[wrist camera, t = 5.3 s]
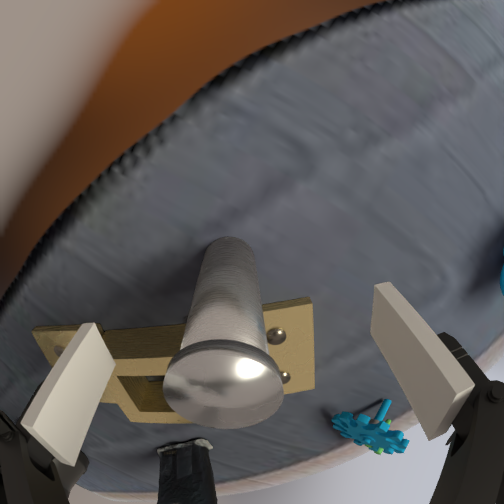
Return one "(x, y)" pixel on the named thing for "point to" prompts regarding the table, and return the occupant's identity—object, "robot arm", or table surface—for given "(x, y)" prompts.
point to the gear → (371, 431)
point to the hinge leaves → (169, 343)
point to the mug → (502, 279)
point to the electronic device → (186, 474)
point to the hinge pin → (225, 346)
